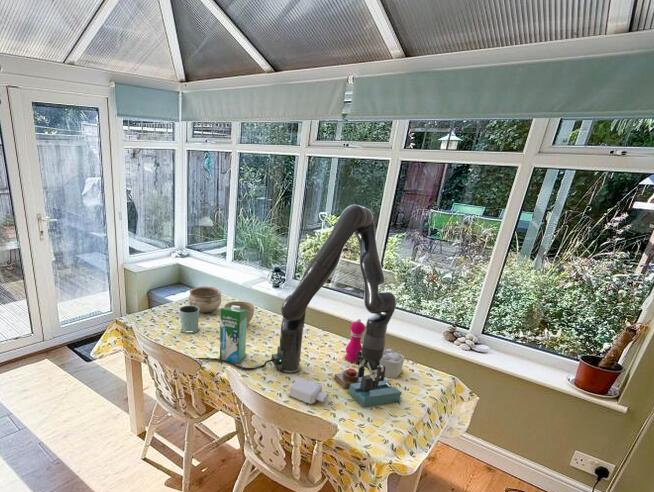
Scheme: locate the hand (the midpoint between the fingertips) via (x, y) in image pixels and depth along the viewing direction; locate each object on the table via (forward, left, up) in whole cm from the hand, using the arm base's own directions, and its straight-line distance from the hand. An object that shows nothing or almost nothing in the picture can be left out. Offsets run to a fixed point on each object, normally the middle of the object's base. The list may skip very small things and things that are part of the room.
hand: (367, 382), depth 156 cm
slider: (0, 0, -4) cm, 4 cm away
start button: (+1, +12, -3) cm, 12 cm away
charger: (-20, +5, -7) cm, 22 cm away
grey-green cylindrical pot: (-53, +78, -7) cm, 94 cm away
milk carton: (-40, +44, -7) cm, 60 cm away
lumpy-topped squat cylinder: (+21, +17, -7) cm, 28 cm away
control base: (+4, 0, -7) cm, 8 cm away
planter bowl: (-26, +78, -7) cm, 82 cm away
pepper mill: (+13, +29, -7) cm, 33 cm away
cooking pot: (-39, +102, -7) cm, 109 cm away
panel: (+1, +12, -7) cm, 14 cm away
